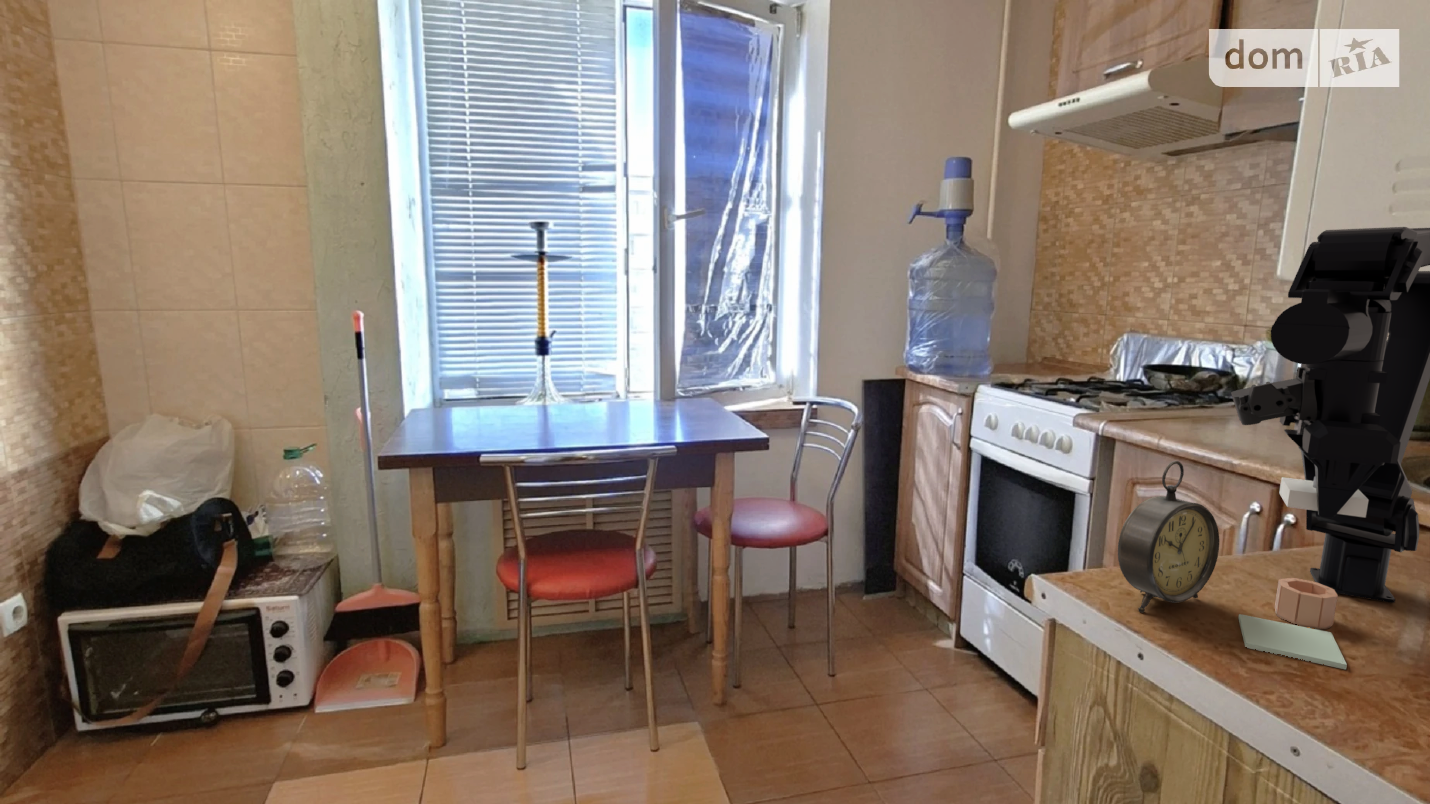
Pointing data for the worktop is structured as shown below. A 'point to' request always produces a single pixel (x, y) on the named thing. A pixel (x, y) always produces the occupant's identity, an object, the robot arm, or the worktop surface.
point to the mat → (1291, 641)
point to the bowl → (1306, 603)
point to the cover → (1305, 497)
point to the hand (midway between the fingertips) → (1319, 509)
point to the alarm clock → (1168, 546)
